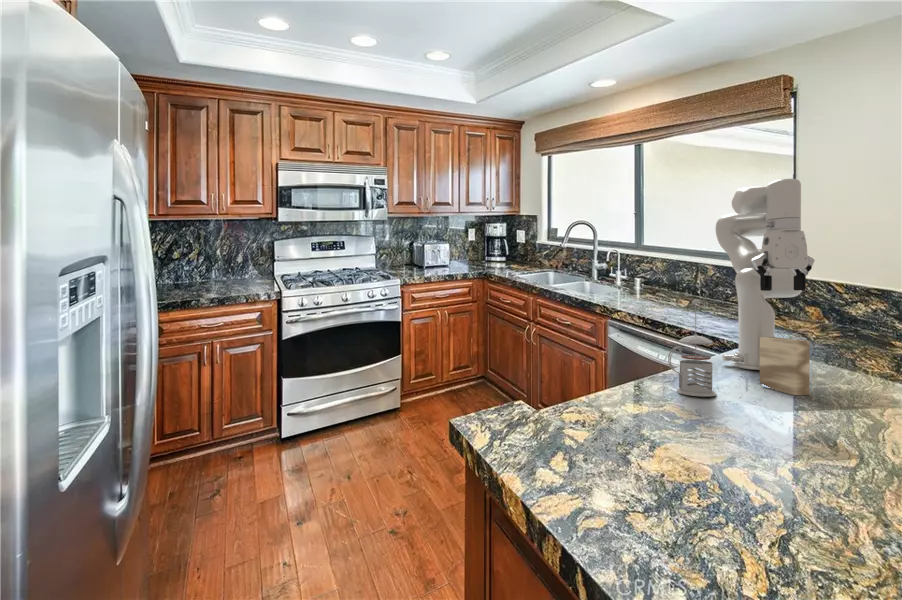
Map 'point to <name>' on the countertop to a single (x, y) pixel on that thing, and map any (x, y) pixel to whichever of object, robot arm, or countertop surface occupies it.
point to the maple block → (785, 364)
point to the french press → (688, 385)
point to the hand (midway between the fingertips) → (782, 290)
